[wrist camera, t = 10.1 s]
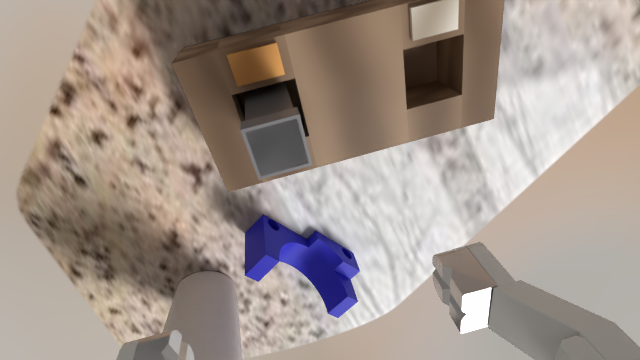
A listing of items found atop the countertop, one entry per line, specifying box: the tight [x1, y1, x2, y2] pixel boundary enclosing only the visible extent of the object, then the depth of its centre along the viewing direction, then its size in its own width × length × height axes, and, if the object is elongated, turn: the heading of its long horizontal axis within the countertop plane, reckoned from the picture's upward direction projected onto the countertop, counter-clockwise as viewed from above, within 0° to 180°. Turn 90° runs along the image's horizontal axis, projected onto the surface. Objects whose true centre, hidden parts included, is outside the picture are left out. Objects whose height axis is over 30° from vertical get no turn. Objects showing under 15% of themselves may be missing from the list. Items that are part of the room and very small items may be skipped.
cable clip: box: [245, 215, 360, 318], centre depth 35 cm, size 12×4×6 cm, turn 47°
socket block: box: [172, 0, 504, 192], centre depth 26 cm, size 22×10×5 cm, turn 102°
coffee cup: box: [162, 271, 242, 360], centre depth 32 cm, size 10×10×15 cm
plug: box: [240, 81, 312, 180], centre depth 24 cm, size 3×3×9 cm
